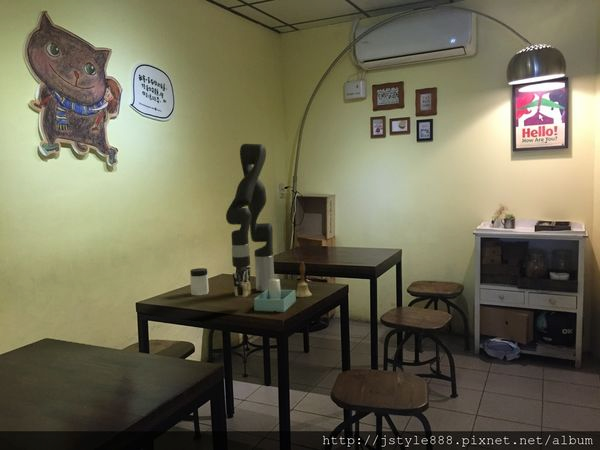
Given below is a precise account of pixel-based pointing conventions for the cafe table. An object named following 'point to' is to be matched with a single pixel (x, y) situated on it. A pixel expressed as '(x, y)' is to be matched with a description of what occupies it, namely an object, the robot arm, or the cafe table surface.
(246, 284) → the cube
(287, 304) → the tote
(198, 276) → the jar
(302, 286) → the hand bell
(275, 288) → the cylinder
